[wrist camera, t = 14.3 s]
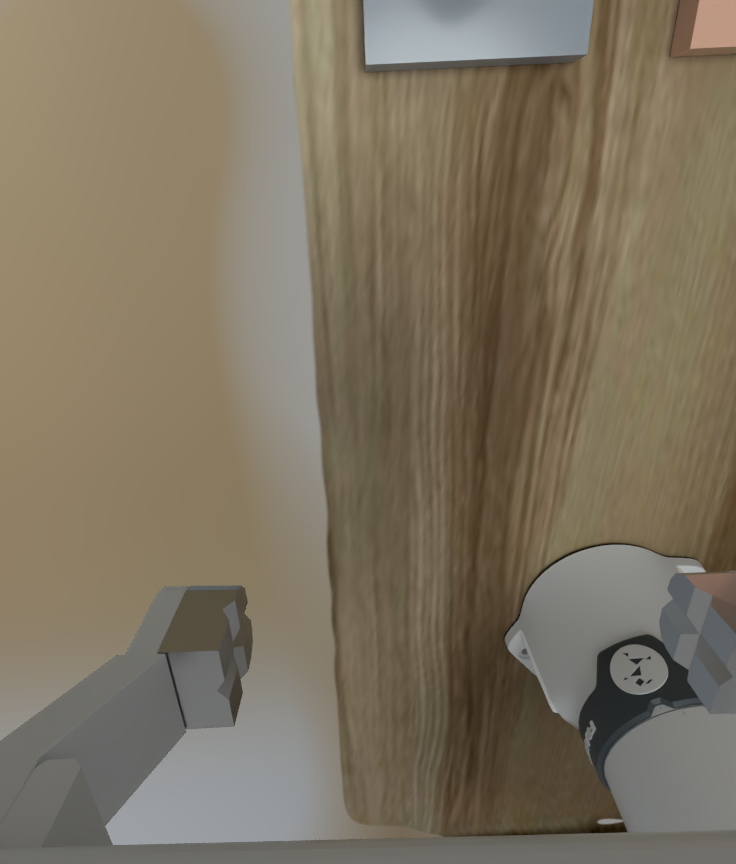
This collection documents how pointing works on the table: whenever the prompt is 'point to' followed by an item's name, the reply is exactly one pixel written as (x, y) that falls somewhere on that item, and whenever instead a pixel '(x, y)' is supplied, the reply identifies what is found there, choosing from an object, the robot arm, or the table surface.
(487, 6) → the steel tile
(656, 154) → the table surface
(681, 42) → the terracotta tile
